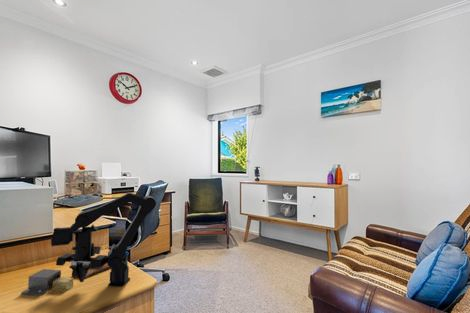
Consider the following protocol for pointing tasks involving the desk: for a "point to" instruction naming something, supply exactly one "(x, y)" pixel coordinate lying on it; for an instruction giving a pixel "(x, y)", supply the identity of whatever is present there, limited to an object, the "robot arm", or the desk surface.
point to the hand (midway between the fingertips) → (81, 281)
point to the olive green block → (62, 284)
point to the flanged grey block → (41, 281)
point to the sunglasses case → (94, 271)
